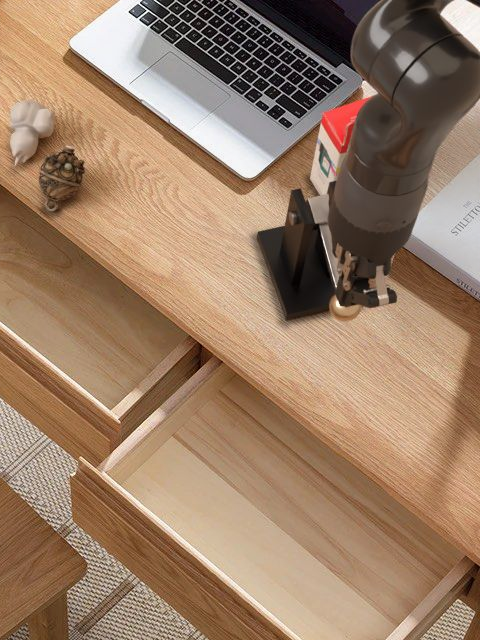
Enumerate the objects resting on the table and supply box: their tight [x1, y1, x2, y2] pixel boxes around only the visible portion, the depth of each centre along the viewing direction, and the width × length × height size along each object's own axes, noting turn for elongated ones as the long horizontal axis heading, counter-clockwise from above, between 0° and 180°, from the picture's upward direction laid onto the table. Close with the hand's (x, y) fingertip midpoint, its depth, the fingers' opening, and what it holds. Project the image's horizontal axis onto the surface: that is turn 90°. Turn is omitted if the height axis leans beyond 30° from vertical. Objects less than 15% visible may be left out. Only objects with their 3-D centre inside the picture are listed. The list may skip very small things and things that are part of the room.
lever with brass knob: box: [305, 194, 362, 323], centre depth 125 cm, size 13×3×3 cm, turn 13°
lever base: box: [256, 181, 336, 321], centre depth 130 cm, size 11×8×13 cm
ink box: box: [309, 95, 373, 196], centre depth 134 cm, size 8×5×15 cm, turn 111°
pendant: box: [38, 145, 86, 213], centre depth 140 cm, size 5×8×5 cm
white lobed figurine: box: [9, 99, 55, 167], centre depth 143 cm, size 5×7×8 cm
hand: (347, 298), depth 123 cm, fingers closed
